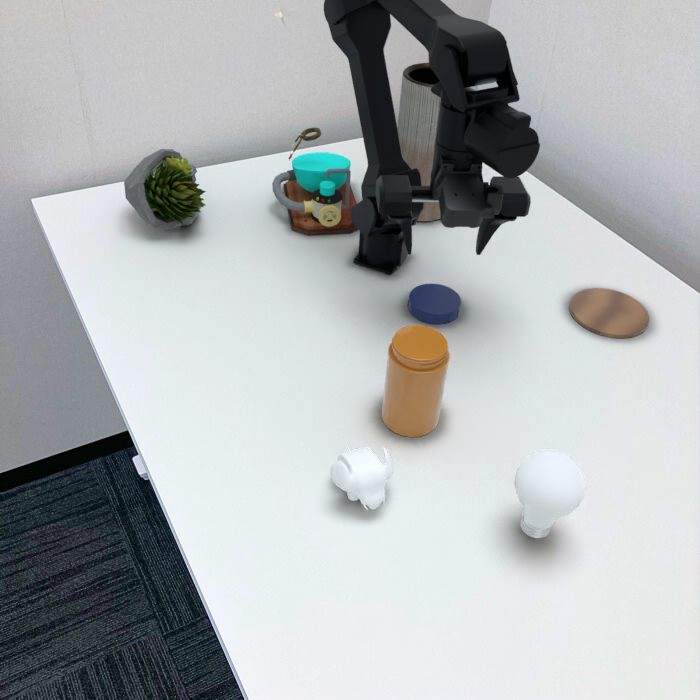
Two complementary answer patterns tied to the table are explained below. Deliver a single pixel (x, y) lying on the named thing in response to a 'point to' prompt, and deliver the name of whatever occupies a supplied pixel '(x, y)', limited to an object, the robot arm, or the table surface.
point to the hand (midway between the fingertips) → (443, 253)
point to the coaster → (609, 313)
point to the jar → (415, 380)
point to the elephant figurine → (363, 475)
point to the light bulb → (548, 489)
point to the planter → (419, 126)
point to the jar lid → (434, 303)
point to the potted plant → (164, 190)
